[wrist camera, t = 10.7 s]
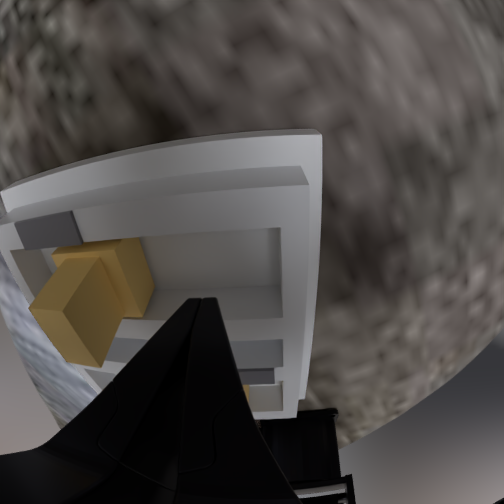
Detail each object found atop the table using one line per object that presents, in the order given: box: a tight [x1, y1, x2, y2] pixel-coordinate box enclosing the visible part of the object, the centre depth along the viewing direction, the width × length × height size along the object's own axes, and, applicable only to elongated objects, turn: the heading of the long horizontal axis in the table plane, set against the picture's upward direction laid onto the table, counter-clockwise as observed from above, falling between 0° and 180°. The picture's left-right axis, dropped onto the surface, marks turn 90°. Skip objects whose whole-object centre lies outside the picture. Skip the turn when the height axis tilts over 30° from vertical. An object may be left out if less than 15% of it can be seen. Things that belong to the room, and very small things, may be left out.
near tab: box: [28, 237, 155, 368], centre depth 9 cm, size 3×3×4 cm
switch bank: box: [0, 129, 322, 419], centre depth 13 cm, size 14×16×3 cm
